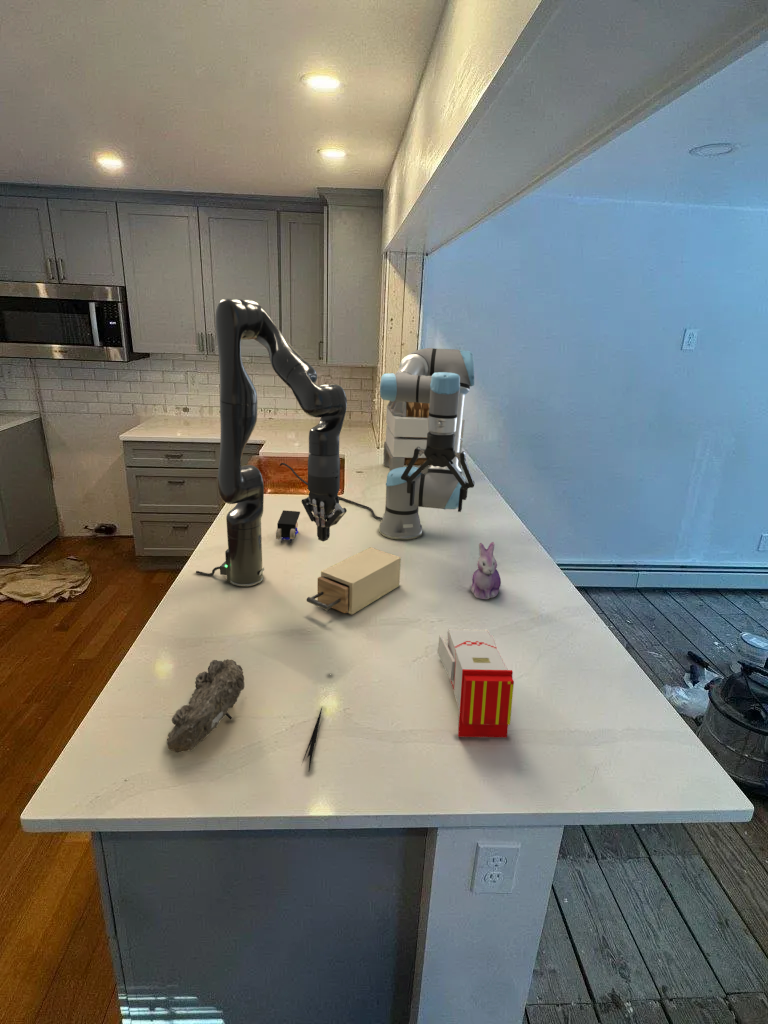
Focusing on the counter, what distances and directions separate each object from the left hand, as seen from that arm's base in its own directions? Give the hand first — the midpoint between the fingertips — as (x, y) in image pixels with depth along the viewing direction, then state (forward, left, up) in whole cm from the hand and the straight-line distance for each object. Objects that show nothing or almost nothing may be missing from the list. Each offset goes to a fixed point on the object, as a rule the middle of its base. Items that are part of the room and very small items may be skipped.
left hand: (323, 539), depth 138 cm
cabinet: (+7, +14, -21) cm, 26 cm away
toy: (+38, -23, -21) cm, 49 cm away
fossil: (-10, -42, -21) cm, 48 cm away
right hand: (+25, +26, +2) cm, 36 cm away
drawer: (+5, +9, -20) cm, 22 cm away
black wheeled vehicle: (-25, +47, -21) cm, 57 cm away
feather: (+10, -38, -21) cm, 44 cm away
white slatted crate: (+9, +141, -21) cm, 143 cm away
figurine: (+41, +23, -21) cm, 52 cm away
